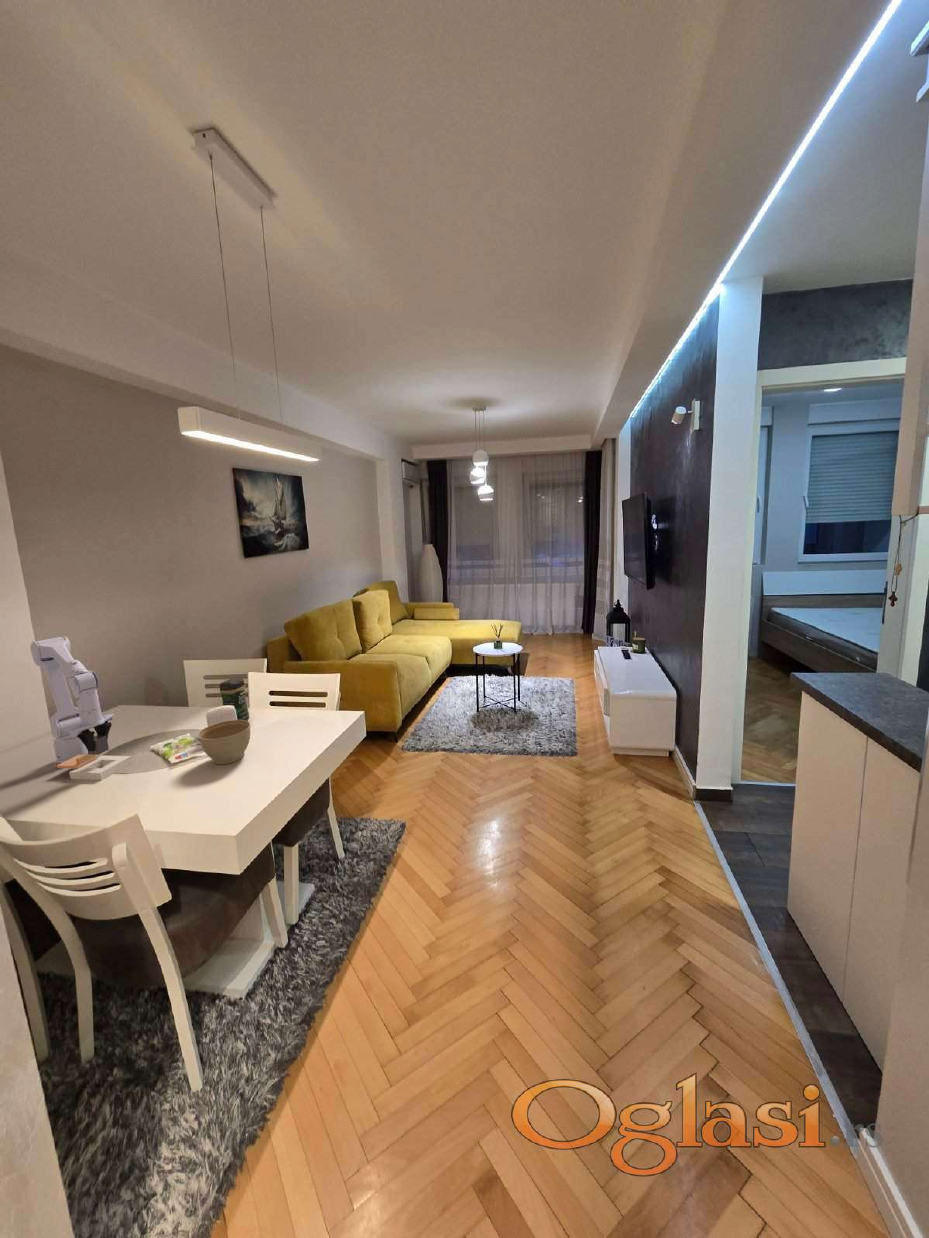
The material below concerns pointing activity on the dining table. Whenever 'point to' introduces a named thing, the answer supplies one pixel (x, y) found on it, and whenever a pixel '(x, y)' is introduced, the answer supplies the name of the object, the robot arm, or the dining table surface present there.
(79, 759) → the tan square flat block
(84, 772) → the socket
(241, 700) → the coffee jar
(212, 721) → the white rounded block
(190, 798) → the dining table surface
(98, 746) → the grey block
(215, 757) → the planter bowl
